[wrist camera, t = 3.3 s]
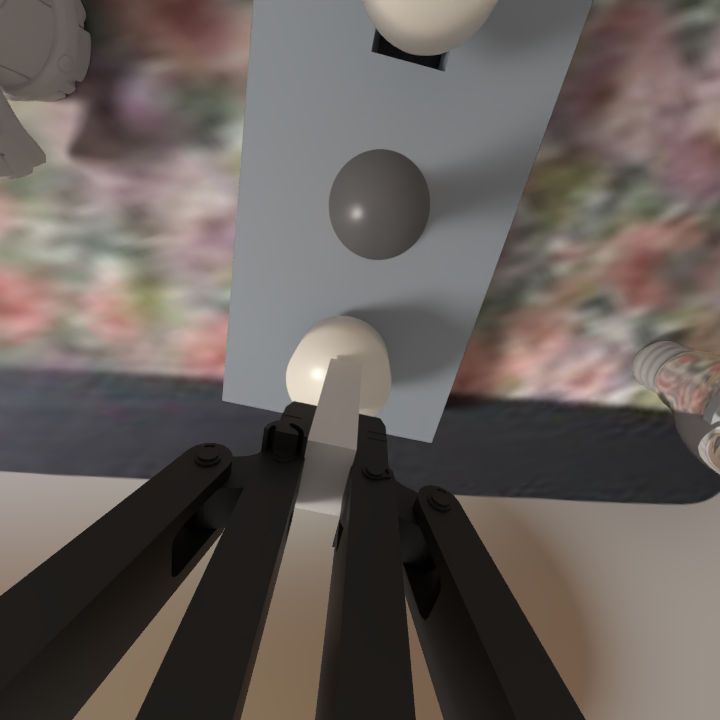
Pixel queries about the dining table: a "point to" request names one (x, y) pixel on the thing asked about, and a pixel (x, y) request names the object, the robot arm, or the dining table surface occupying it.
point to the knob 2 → (428, 22)
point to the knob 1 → (347, 344)
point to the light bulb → (686, 393)
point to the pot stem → (379, 204)
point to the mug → (37, 69)
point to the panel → (400, 134)
